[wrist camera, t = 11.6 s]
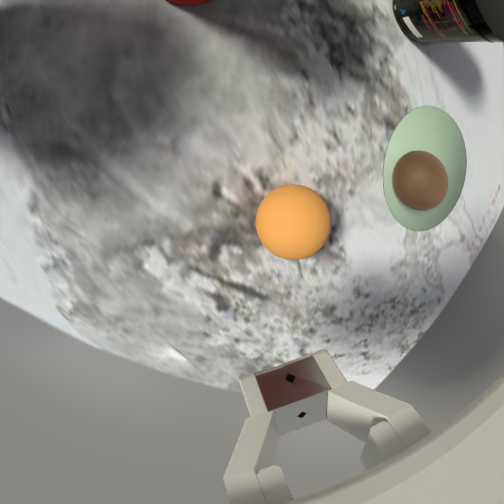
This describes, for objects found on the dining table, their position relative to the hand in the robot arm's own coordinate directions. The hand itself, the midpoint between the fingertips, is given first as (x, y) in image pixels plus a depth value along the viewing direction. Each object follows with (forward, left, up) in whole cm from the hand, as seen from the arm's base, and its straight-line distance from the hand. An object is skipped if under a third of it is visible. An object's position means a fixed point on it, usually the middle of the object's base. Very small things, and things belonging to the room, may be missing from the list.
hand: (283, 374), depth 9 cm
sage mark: (-23, 0, -16) cm, 28 cm away
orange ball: (-5, +1, -13) cm, 14 cm away
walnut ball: (-19, 0, -13) cm, 23 cm away
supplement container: (-23, -17, -16) cm, 33 cm away
